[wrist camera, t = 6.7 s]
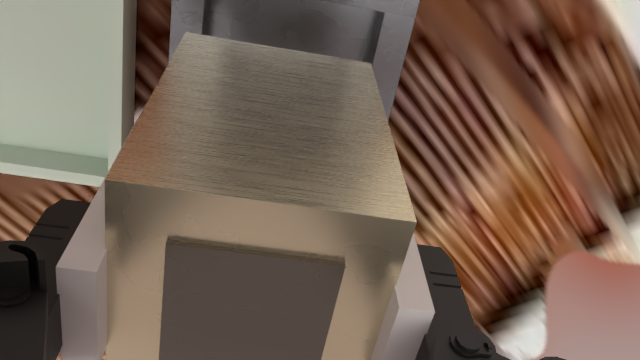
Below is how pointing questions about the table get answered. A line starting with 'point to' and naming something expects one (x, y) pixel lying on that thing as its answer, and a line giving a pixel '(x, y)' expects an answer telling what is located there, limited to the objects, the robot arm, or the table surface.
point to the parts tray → (66, 87)
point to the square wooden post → (255, 210)
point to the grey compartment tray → (309, 29)
